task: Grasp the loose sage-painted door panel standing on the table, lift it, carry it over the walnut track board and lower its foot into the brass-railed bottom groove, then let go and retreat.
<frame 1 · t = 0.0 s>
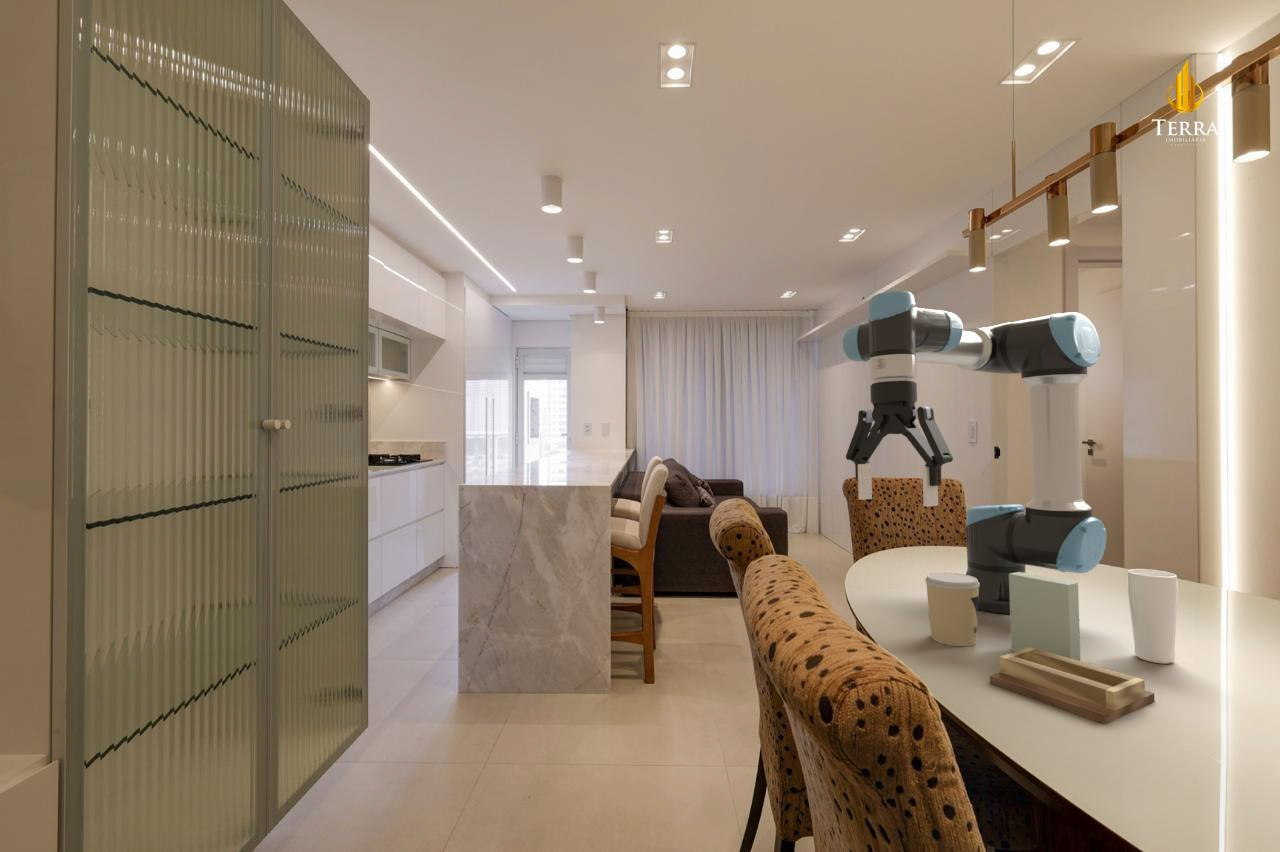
hand: (896, 502, 106), 28 cm above the table, fingers open, 13 cm apart
door panel: (1044, 657, 107), on the table
coffee cup: (953, 640, 117), on the table
track board: (1068, 691, 93), on the table
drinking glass: (1154, 660, 106), on the table
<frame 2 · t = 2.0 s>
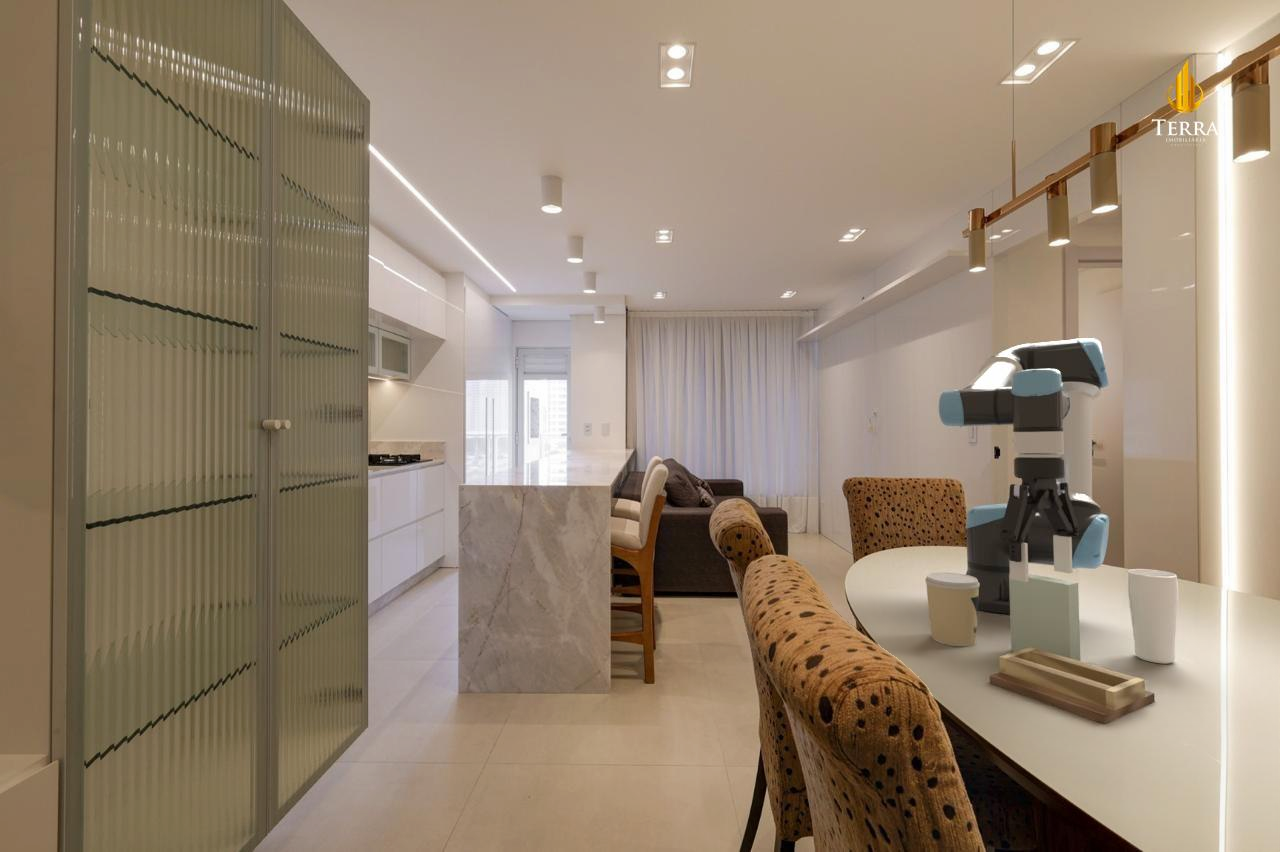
hand: (1041, 576, 107), 14 cm above the table, fingers open, 13 cm apart
nothing on the table moved.
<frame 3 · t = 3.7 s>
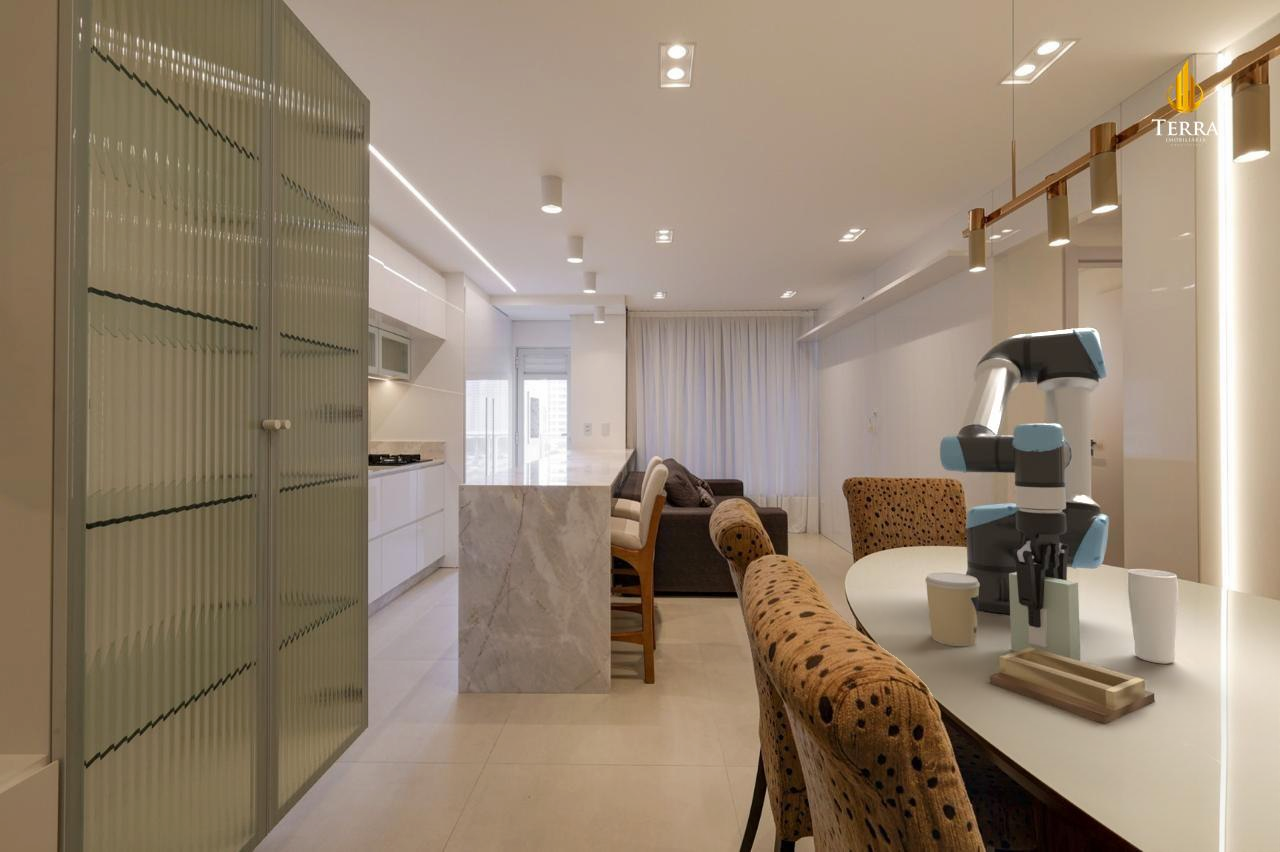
hand: (1044, 642, 107), 3 cm above the table, fingers closed on door panel, 3 cm apart
door panel: (1044, 657, 107), on the table, touching gripper
everything else where it was.
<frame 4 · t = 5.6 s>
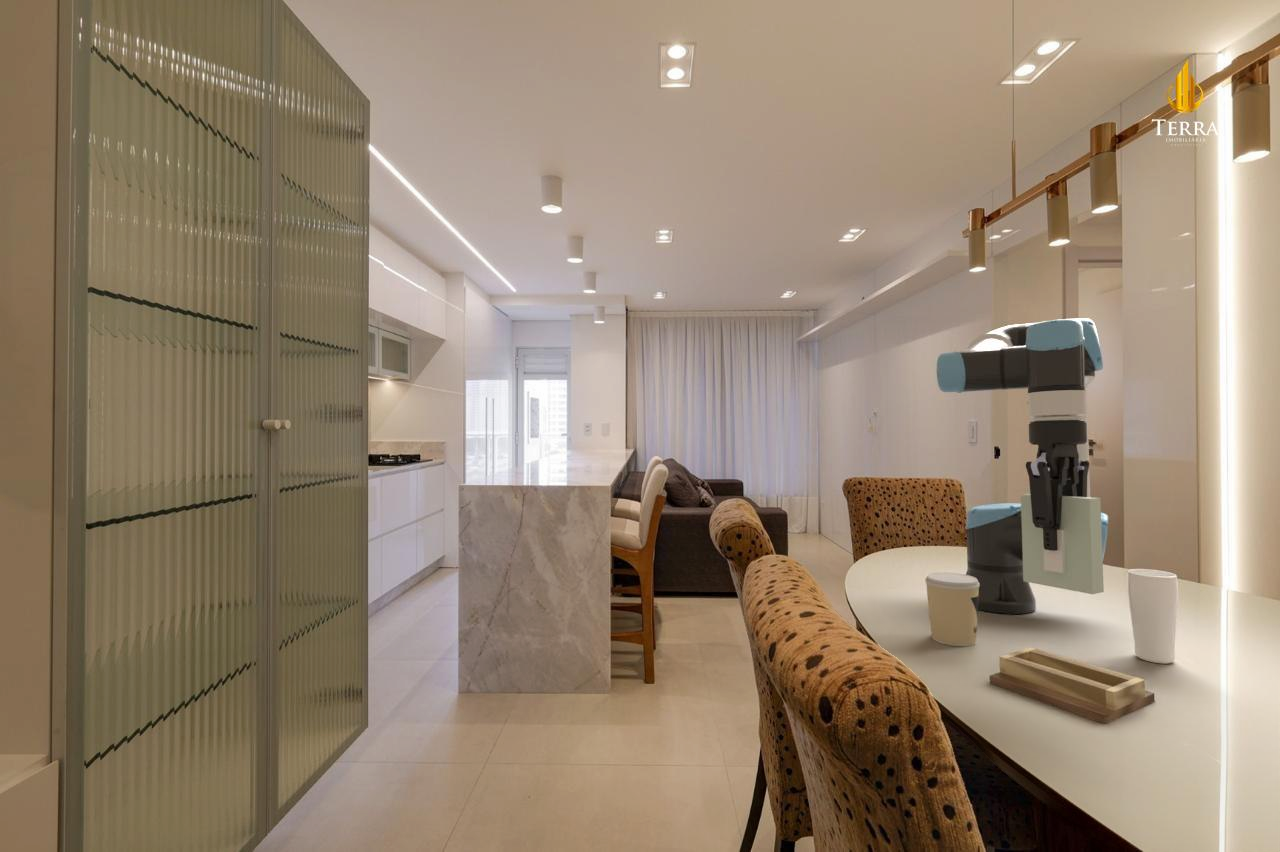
hand: (1061, 569, 94), 18 cm above the table, fingers closed on door panel, 3 cm apart
door panel: (1061, 586, 94), point 16 cm above the table, touching gripper
everything else where it was.
when the fingers open (5 cm above the table, at t = 7.8 s): door panel drops 1 cm, resting on track board.
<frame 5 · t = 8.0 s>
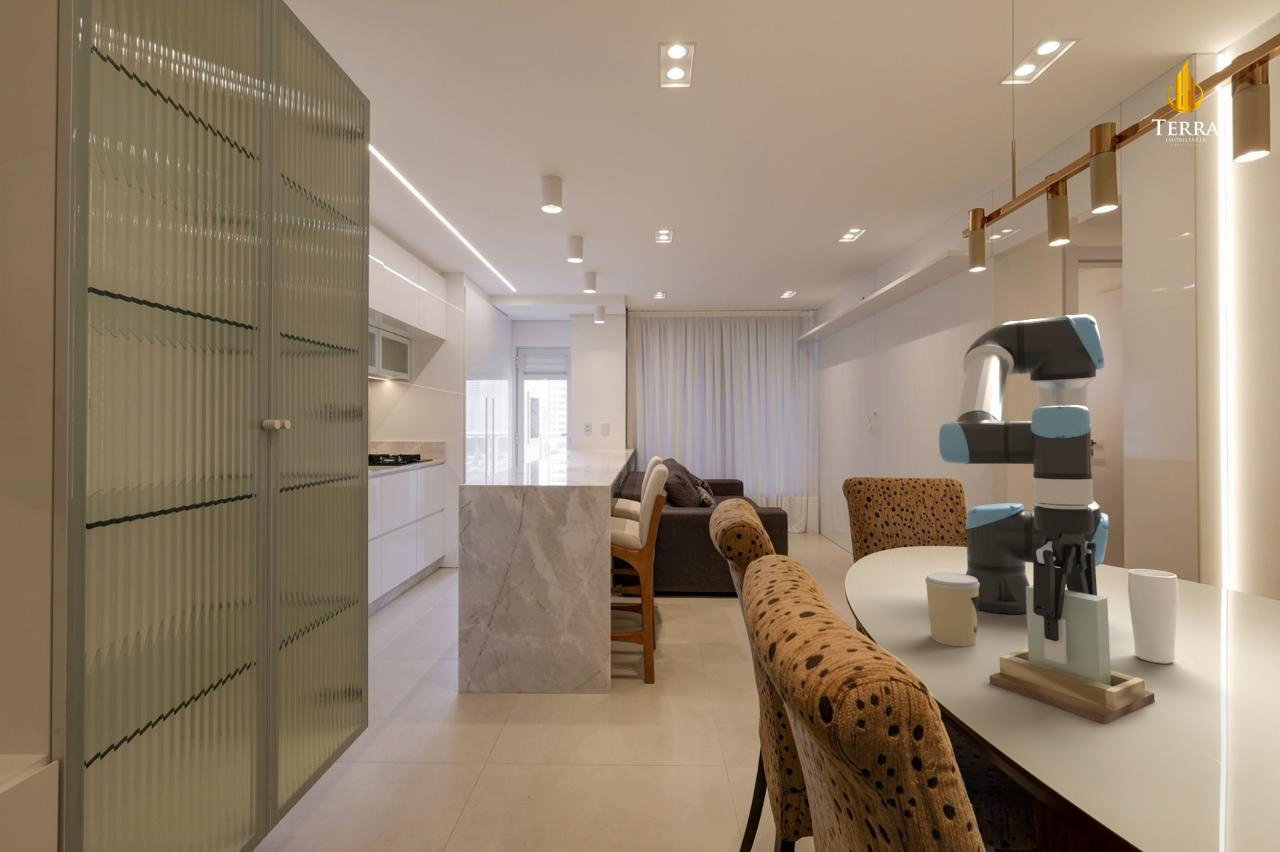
hand: (1067, 656, 93), 5 cm above the table, fingers open, 6 cm apart
door panel: (1068, 683, 93), point 1 cm above the table, touching track board
everything else where it was.
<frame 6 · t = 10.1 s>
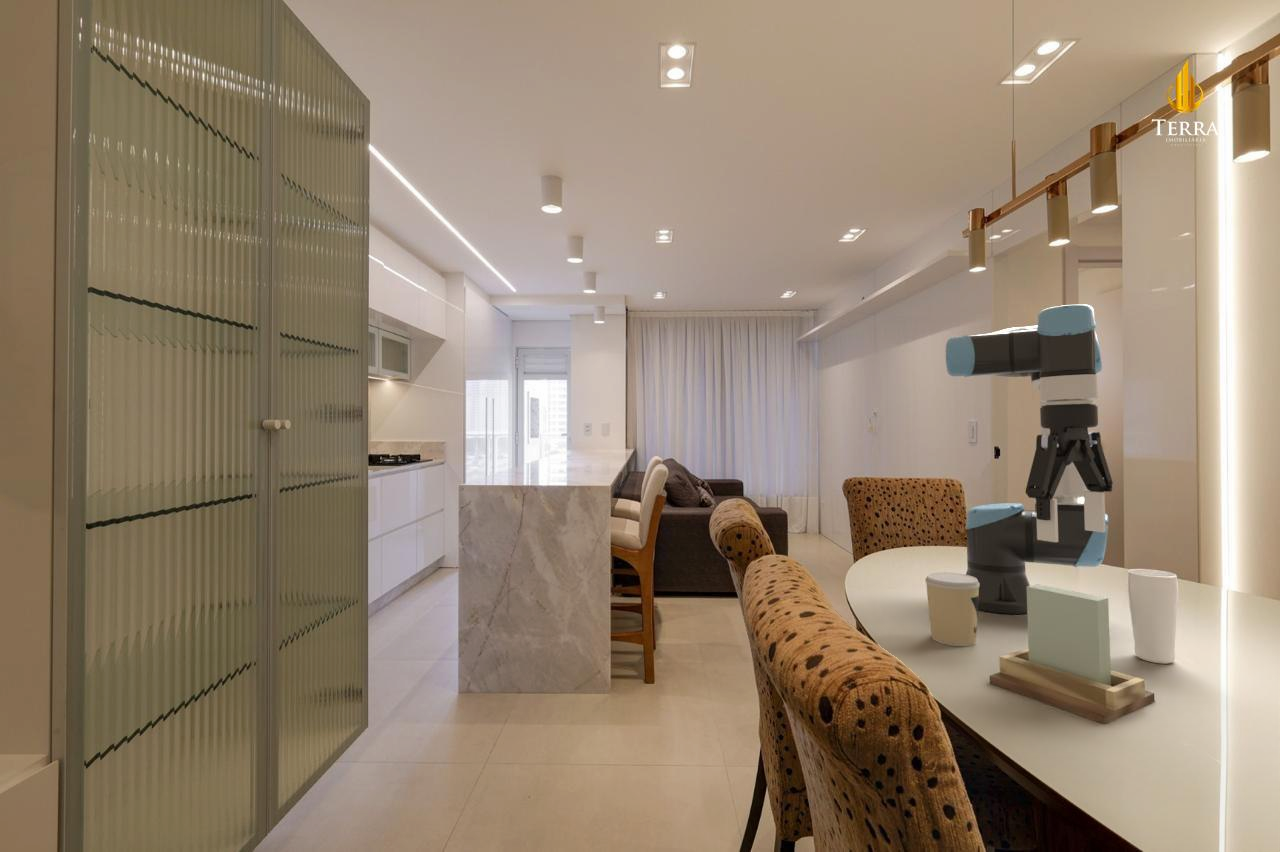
hand: (1072, 536, 97), 23 cm above the table, fingers open, 13 cm apart
nothing on the table moved.
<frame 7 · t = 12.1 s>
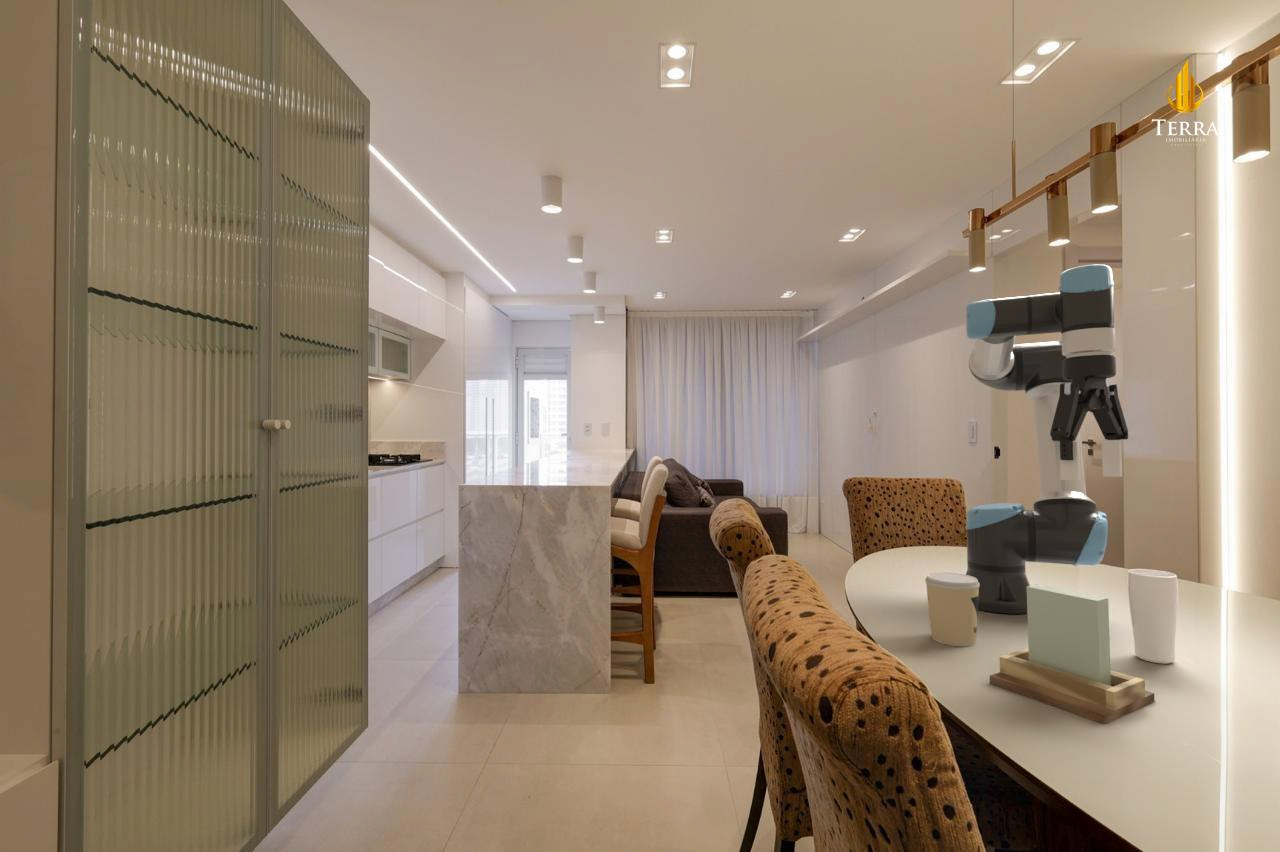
hand: (1092, 478, 105), 32 cm above the table, fingers open, 13 cm apart
nothing on the table moved.
at the end: door panel inside the target area on the track board (0.1 cm from its centre), point 1.2 cm above the track board's base; door panel tilted 0°; the gripper is holding nothing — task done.
